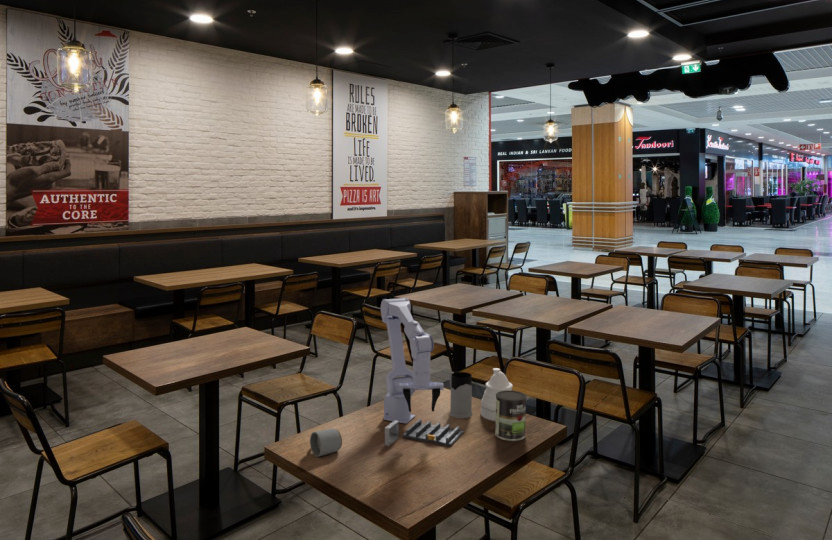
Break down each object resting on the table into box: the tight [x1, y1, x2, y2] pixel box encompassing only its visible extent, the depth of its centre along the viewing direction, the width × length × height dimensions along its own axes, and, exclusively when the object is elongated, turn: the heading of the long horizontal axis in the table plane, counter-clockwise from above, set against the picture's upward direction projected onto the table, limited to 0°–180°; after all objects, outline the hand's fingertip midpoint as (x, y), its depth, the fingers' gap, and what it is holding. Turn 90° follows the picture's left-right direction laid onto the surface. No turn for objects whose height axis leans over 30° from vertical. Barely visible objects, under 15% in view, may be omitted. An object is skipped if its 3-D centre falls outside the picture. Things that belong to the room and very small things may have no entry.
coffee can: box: [494, 390, 527, 442], centre depth 195 cm, size 10×10×14 cm
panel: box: [384, 420, 400, 447], centre depth 190 cm, size 2×7×6 cm, turn 155°
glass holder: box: [449, 371, 473, 419], centre depth 217 cm, size 9×14×15 cm, turn 21°
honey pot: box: [480, 367, 514, 422], centre depth 213 cm, size 13×13×18 cm
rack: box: [402, 418, 464, 447], centre depth 195 cm, size 17×12×2 cm
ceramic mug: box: [309, 428, 343, 458], centre depth 183 cm, size 11×8×8 cm
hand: (421, 410), depth 192 cm, fingers open, 7 cm apart
